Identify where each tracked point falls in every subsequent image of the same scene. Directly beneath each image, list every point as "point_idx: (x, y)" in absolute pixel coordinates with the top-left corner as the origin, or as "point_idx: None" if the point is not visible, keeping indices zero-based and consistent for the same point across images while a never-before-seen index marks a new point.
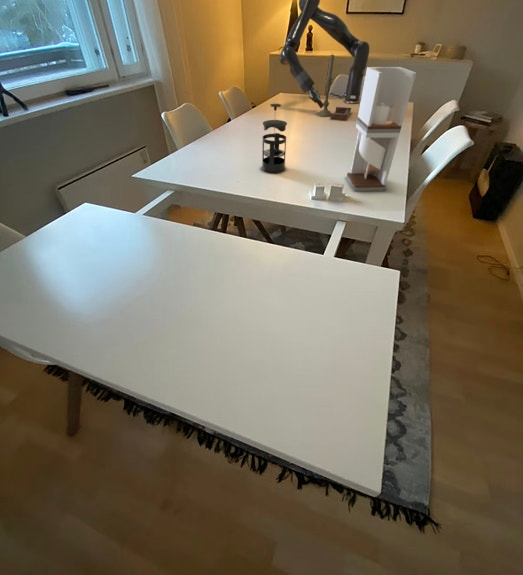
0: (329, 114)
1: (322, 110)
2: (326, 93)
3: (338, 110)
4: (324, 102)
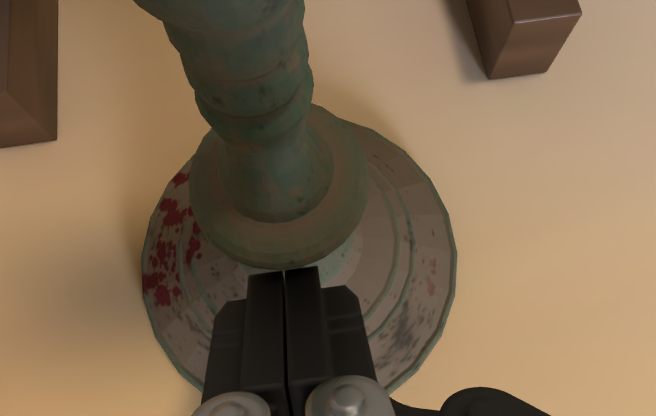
0: (363, 138)
1: None
2: (296, 40)
3: (36, 67)
4: (336, 211)
